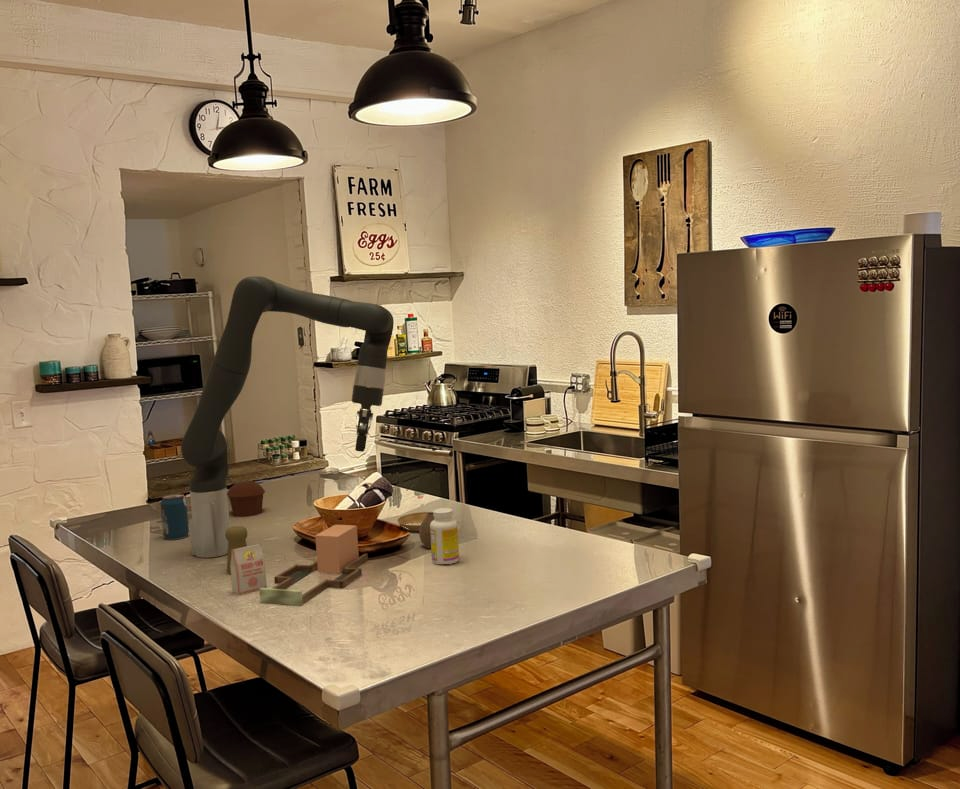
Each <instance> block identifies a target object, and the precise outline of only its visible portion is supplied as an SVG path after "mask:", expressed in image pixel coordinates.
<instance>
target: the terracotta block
mask: <svg viewBox="0 0 960 789" xmlns="http://www.w3.org/2000/svg"><path fill="white" fill-rule="evenodd" d="M314 537H315V548H316V549H315V550H316V551H315V552H316V561H317V567H318V569H317V573H332V574H341V573H343V571H342V568H344V567H345V566H347V565H348V564H350V563H351V562H353V561H354V560H356V559H357V558H359V557H360V554H359V540H358V539H359V538H358V526H357V525H352V524H333V525H332V526H330V527H328V528H326V529H324V530H323V531H321V532H319V533H317V534H316V535H315V536H314Z"/></svg>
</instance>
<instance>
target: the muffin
mask: <svg viewBox="0 0 960 789" xmlns="http://www.w3.org/2000/svg"><path fill="white" fill-rule="evenodd" d="M265 492H266V491H265V489H264V488H263V487H262V485H260V483H258V482H256V481H253V480H252V481H251V480H242V481H239V482H236V483H234V484H233V485H232V486H231V487H230V488H229V489H228V490H227V498H228V499H229V502H230V503H229V504H230V507H231V510H232V511H231V512H232V514H233V516H234V517H238V518H243V517H252V516H257V515H259V514H262V513H263V502H264V500H263V499H264V494H265Z"/></svg>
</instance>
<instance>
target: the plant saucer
mask: <svg viewBox="0 0 960 789" xmlns="http://www.w3.org/2000/svg"><path fill="white" fill-rule="evenodd" d="M430 512H431V511H421V512H413V513H409V514H405V515H402V516H400V517H398V518H397V520H396V521H397V523H398V524H399V525H400V526H401V527H402V526H404V527H406V528H408V529H409V530H410V532H413V531H419V530H420V526H421V525H406V524H409V523H411V524H413V523H417V524H418V523H421V522H423V520H424V519H425V517H426V515H427V513H430Z"/></svg>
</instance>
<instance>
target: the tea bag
mask: <svg viewBox="0 0 960 789" xmlns="http://www.w3.org/2000/svg"><path fill="white" fill-rule="evenodd" d="M264 557H265V556H264V553H263V548H262V544H261V543H258V544H253V545H247V547H243V548H238V549H233V550H232V555H231V564H230V568H231V574H230V578H231V591H232V592H233V593H235V594H236V595H237V596H239V595H244V594H247V592H248V593H251V591H252V592H255V590H256V591H259V589H260V588H268V586H267V585H268V584H267V574H266V573H267V572H266V562H265V558H264ZM243 593H244V594H243Z"/></svg>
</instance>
